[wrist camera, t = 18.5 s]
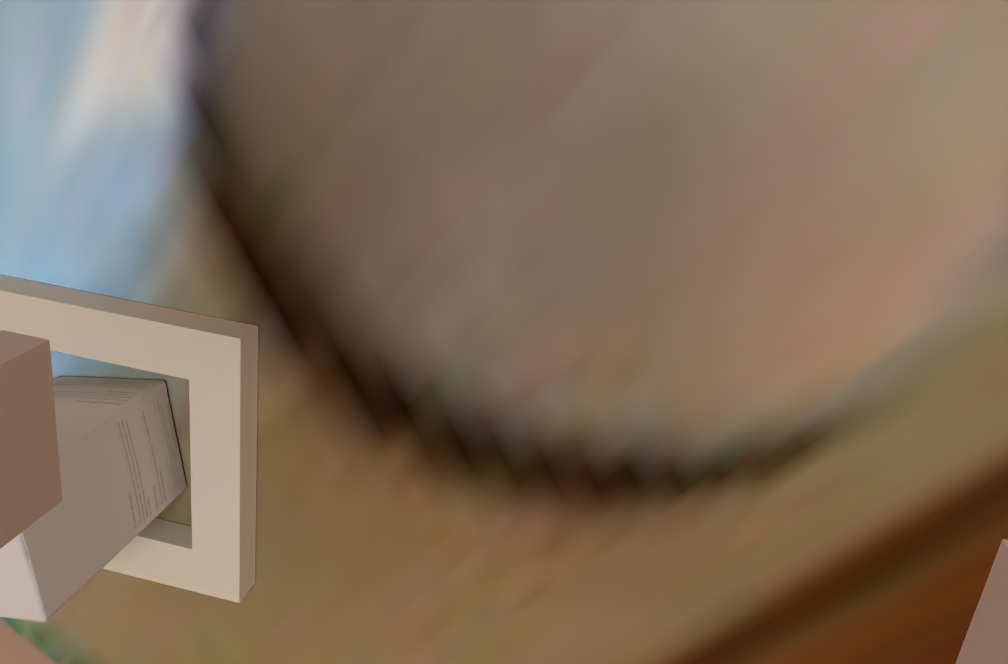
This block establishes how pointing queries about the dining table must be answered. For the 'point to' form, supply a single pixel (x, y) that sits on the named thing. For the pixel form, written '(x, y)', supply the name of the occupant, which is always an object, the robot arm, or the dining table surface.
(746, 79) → the dining table surface
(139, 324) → the hole board
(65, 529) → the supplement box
